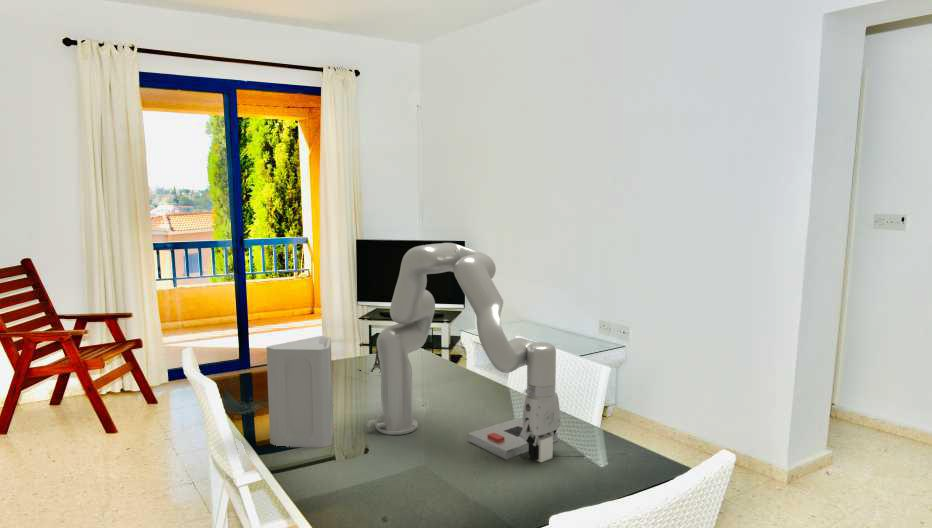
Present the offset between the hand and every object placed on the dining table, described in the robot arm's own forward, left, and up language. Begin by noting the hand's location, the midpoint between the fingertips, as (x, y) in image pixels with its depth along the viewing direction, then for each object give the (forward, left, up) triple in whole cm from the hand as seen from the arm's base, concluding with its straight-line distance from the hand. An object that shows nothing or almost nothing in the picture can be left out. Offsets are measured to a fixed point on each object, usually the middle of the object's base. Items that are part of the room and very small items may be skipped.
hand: (540, 455), depth 161 cm
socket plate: (+2, +13, -1) cm, 13 cm away
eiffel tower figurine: (+9, +102, -1) cm, 102 cm away
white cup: (+17, +19, -1) cm, 25 cm away
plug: (0, 0, -1) cm, 1 cm away
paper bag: (-42, +51, -1) cm, 66 cm away
